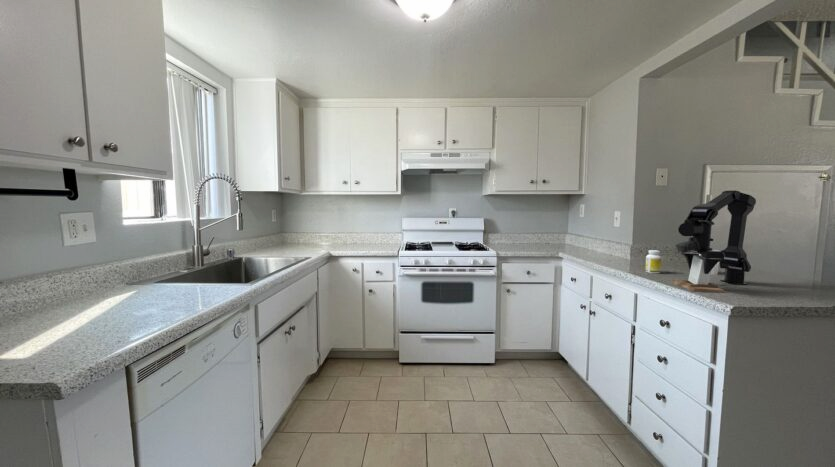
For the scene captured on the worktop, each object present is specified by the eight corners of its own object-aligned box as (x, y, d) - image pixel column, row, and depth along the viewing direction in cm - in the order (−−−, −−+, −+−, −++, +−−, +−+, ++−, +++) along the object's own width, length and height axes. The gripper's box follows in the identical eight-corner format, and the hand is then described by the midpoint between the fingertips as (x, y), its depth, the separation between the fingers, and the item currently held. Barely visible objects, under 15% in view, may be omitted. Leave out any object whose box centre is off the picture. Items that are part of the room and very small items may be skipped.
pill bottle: (663, 273, 161) (665, 251, 160) (651, 273, 161) (652, 251, 160) (654, 271, 167) (655, 249, 166) (642, 271, 167) (643, 249, 166)
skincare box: (708, 286, 131) (714, 260, 128) (696, 286, 132) (702, 259, 129) (698, 281, 137) (704, 255, 133) (687, 280, 137) (692, 255, 134)
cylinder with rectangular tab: (701, 274, 160) (703, 251, 159) (690, 270, 168) (692, 248, 167) (722, 275, 158) (724, 251, 156) (710, 271, 166) (712, 249, 165)
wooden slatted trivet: (672, 283, 142) (672, 278, 142) (699, 284, 140) (700, 279, 140) (693, 291, 128) (694, 286, 128) (724, 292, 126) (725, 287, 126)
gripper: (666, 233, 143) (664, 266, 144) (695, 237, 124) (692, 275, 126) (694, 233, 141) (691, 267, 142) (727, 238, 122) (723, 276, 124)
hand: (698, 271), depth 133 cm, fingers open, 9 cm apart
